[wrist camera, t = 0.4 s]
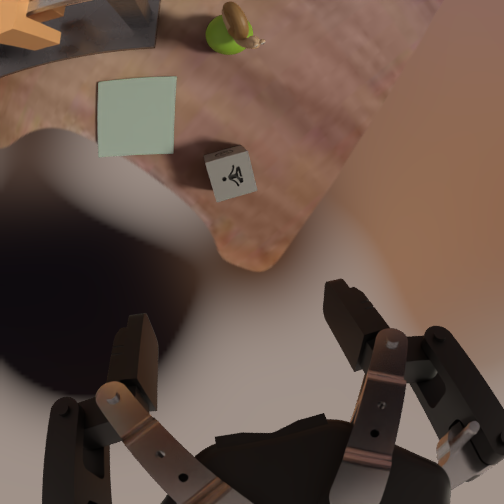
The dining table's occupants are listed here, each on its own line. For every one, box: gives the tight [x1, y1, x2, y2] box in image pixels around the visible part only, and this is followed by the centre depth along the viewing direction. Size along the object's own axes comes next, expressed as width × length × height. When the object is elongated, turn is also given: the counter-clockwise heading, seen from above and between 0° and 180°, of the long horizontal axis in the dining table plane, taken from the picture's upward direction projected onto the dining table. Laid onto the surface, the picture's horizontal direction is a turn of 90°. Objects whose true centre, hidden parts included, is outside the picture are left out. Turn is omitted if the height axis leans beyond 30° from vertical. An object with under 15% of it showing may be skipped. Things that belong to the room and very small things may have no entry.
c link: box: [0, 0, 66, 51], centre depth 15 cm, size 5×4×11 cm, turn 176°
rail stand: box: [0, 0, 161, 78], centre depth 17 cm, size 8×26×15 cm, turn 86°
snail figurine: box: [206, 2, 265, 55], centre depth 25 cm, size 5×6×12 cm
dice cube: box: [204, 145, 257, 202], centre depth 36 cm, size 5×5×5 cm
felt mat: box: [98, 76, 177, 157], centre depth 32 cm, size 10×10×1 cm
